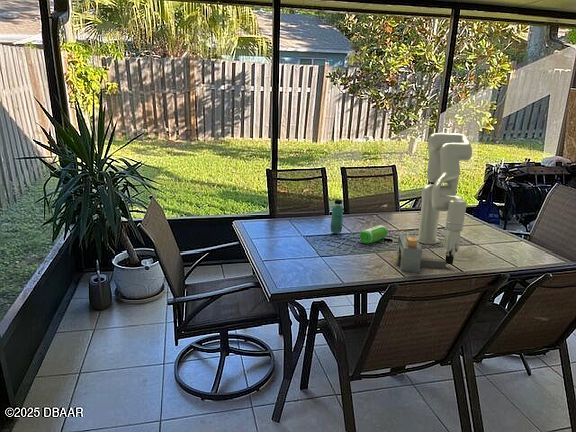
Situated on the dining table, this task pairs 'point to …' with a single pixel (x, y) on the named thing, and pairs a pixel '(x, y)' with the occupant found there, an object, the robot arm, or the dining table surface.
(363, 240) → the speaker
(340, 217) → the beverage bottle
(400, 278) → the dining table surface
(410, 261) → the grey boxy piece
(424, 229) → the robot arm
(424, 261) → the plug
